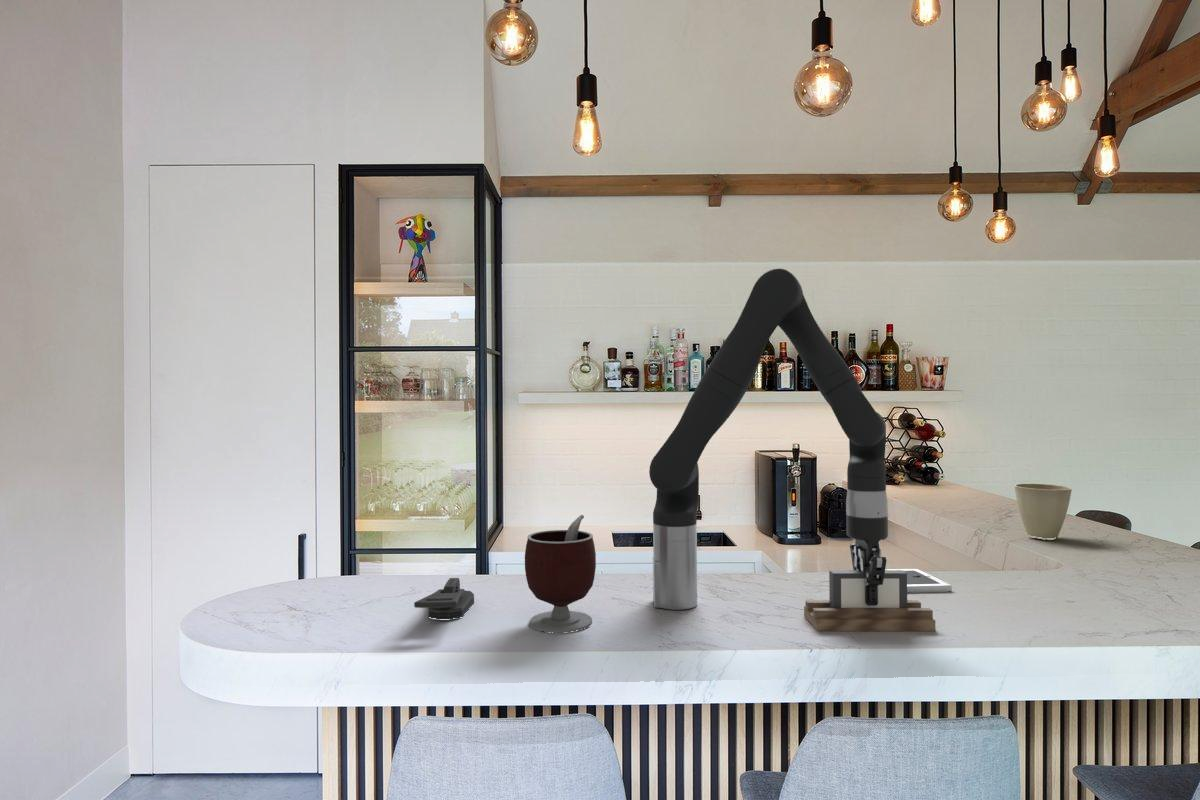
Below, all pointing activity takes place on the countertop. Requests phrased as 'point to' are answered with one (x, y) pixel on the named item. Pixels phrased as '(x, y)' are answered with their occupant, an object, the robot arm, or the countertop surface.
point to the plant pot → (1042, 508)
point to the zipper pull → (447, 601)
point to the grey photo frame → (851, 589)
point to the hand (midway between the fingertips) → (867, 601)
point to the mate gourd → (560, 575)
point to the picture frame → (924, 582)
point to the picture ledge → (870, 624)
